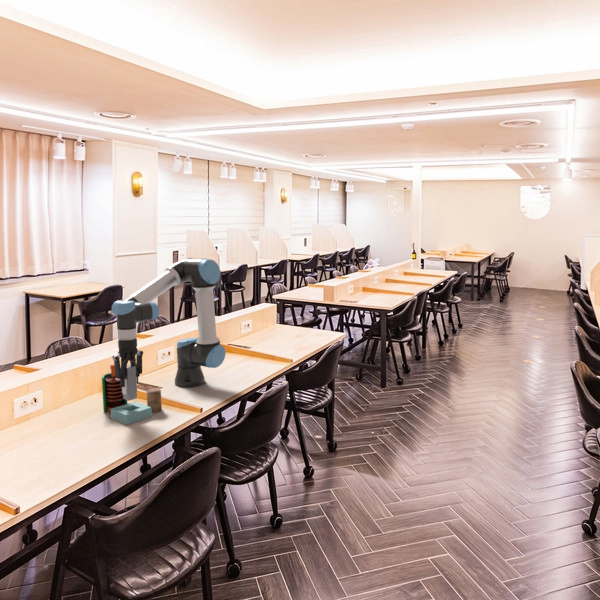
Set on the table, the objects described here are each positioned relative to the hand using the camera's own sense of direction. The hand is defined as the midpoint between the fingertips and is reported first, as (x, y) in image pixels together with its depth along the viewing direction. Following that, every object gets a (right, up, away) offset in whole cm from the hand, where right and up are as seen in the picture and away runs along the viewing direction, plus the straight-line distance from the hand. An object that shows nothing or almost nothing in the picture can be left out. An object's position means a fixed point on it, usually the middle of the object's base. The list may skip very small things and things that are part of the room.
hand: (129, 392), depth 226 cm
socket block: (0, -11, +2) cm, 11 cm away
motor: (-10, -10, +11) cm, 18 cm away
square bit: (0, -3, 0) cm, 3 cm away
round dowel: (+8, -10, +10) cm, 16 cm away
